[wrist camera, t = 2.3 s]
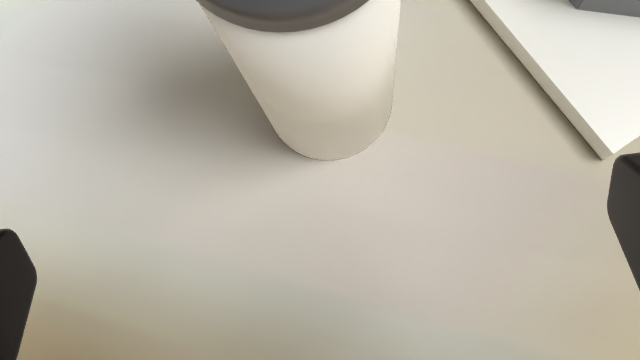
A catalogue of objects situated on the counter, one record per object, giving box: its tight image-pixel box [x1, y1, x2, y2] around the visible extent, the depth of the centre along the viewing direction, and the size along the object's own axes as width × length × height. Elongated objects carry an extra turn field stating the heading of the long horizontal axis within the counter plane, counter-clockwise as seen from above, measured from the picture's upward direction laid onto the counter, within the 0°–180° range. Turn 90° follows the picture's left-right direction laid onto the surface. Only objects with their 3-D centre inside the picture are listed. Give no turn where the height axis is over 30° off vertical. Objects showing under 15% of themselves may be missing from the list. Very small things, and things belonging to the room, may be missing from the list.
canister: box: [196, 0, 401, 160], centre depth 17 cm, size 5×5×12 cm
